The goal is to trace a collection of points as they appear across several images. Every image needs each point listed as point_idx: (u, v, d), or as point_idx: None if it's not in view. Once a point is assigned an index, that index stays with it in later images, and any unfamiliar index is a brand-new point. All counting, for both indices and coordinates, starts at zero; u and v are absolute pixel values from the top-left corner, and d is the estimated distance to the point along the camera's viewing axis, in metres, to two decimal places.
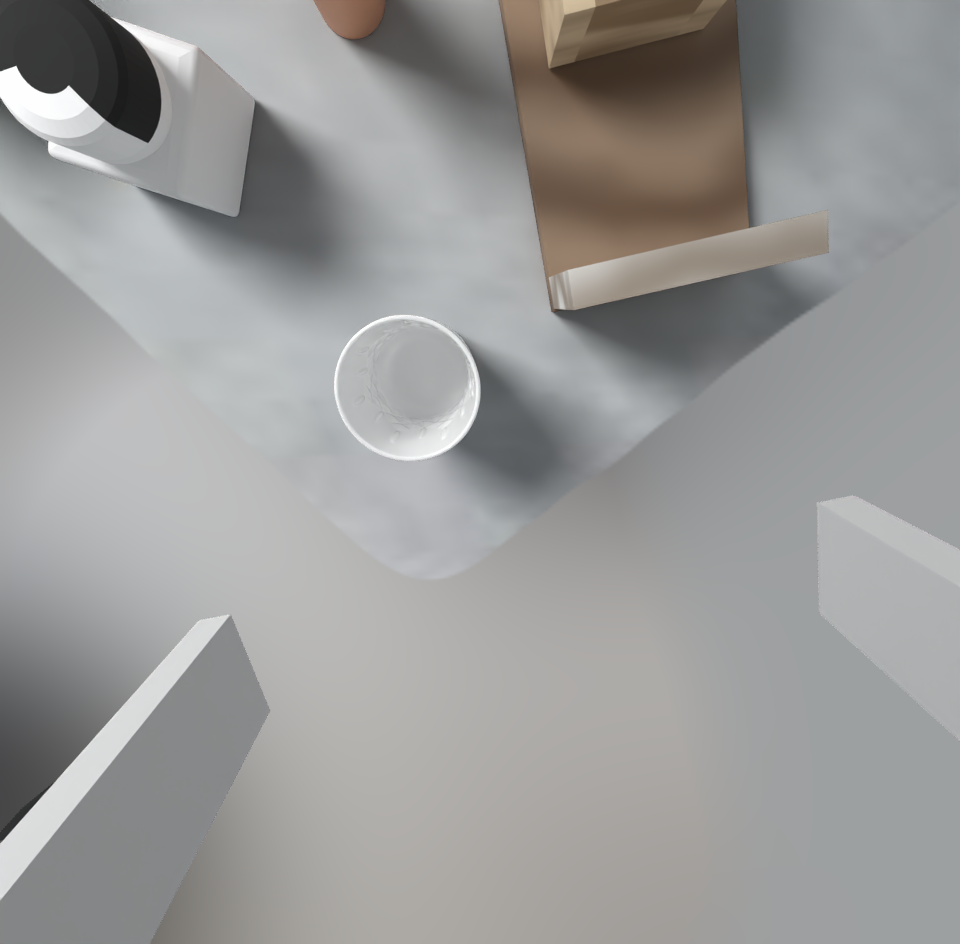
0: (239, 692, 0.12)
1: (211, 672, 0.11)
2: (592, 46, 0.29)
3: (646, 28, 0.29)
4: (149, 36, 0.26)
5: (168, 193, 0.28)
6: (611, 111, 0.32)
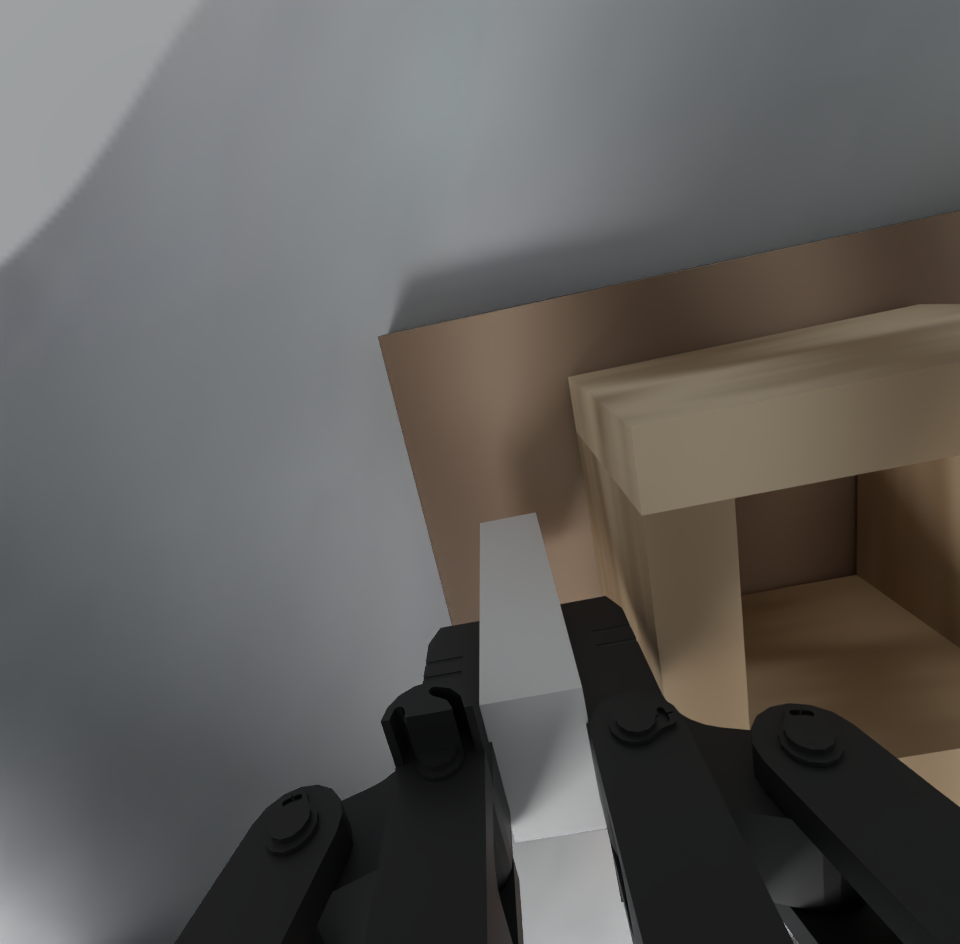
0: None
1: None
2: None
3: None
4: None
5: None
6: None
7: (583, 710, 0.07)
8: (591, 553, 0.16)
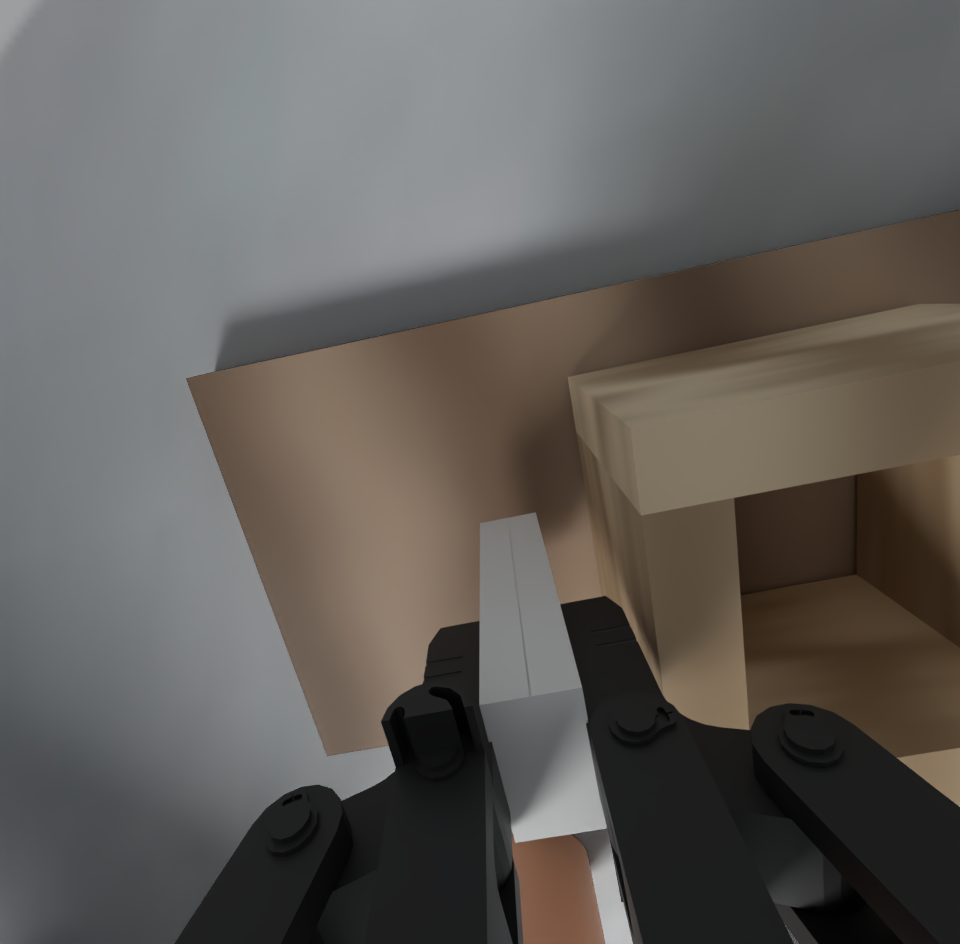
0: None
1: None
2: None
3: None
4: None
5: None
6: (781, 529, 0.15)
7: (583, 710, 0.07)
8: (418, 585, 0.16)
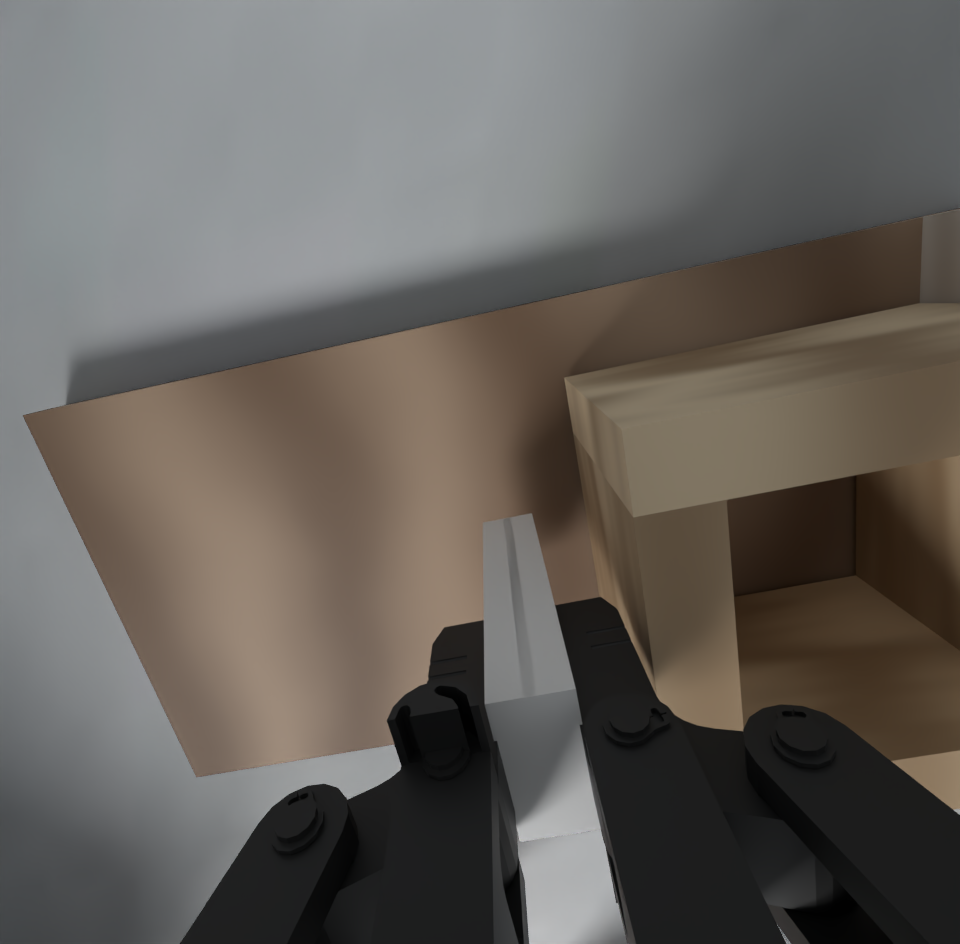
0: None
1: None
2: None
3: None
4: None
5: None
6: None
7: (577, 711, 0.07)
8: (268, 613, 0.16)
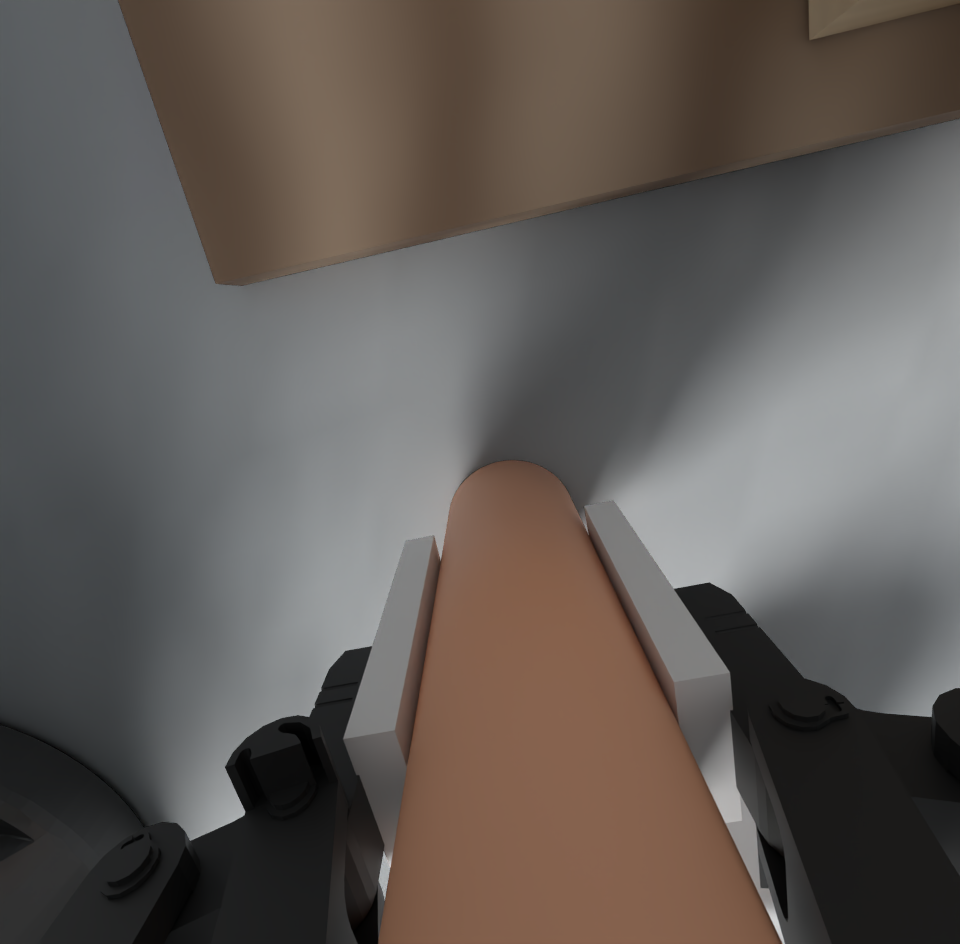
0: None
1: (434, 578, 0.12)
2: None
3: None
4: None
5: None
6: None
7: (728, 696, 0.07)
8: None
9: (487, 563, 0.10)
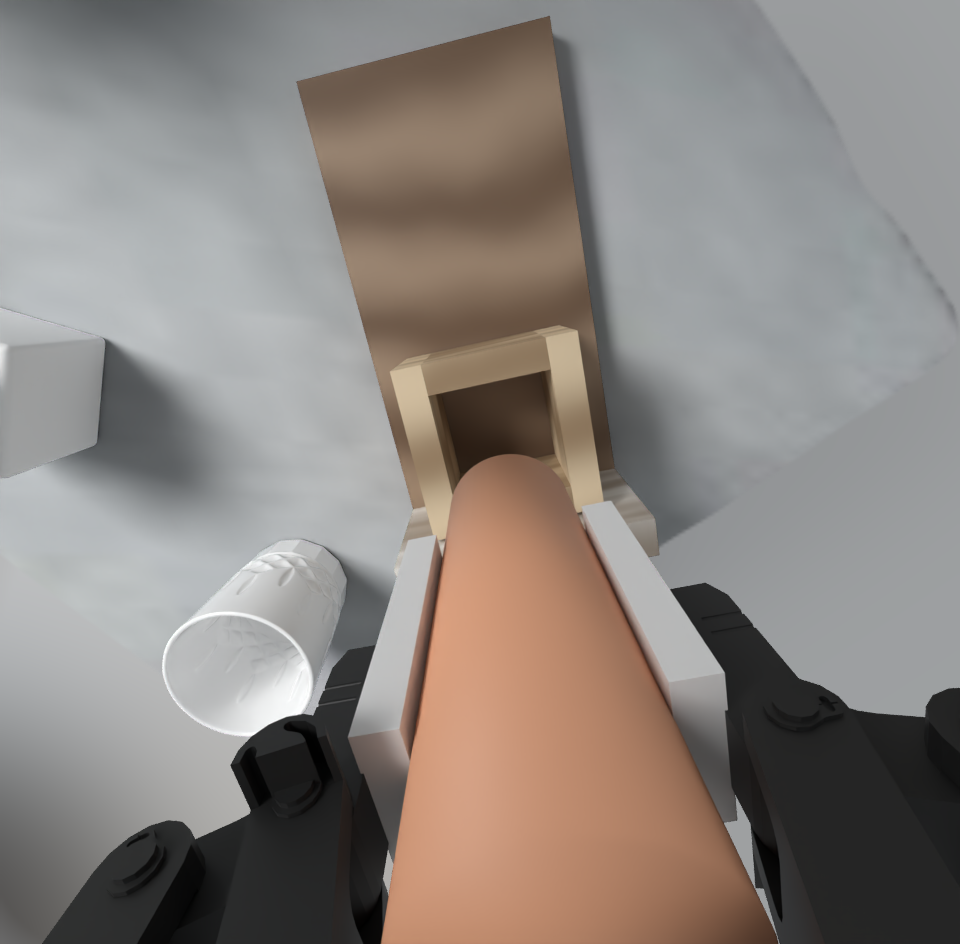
0: None
1: (437, 577, 0.12)
2: None
3: None
4: None
5: None
6: None
7: (723, 696, 0.07)
8: (427, 155, 0.28)
9: (487, 544, 0.11)
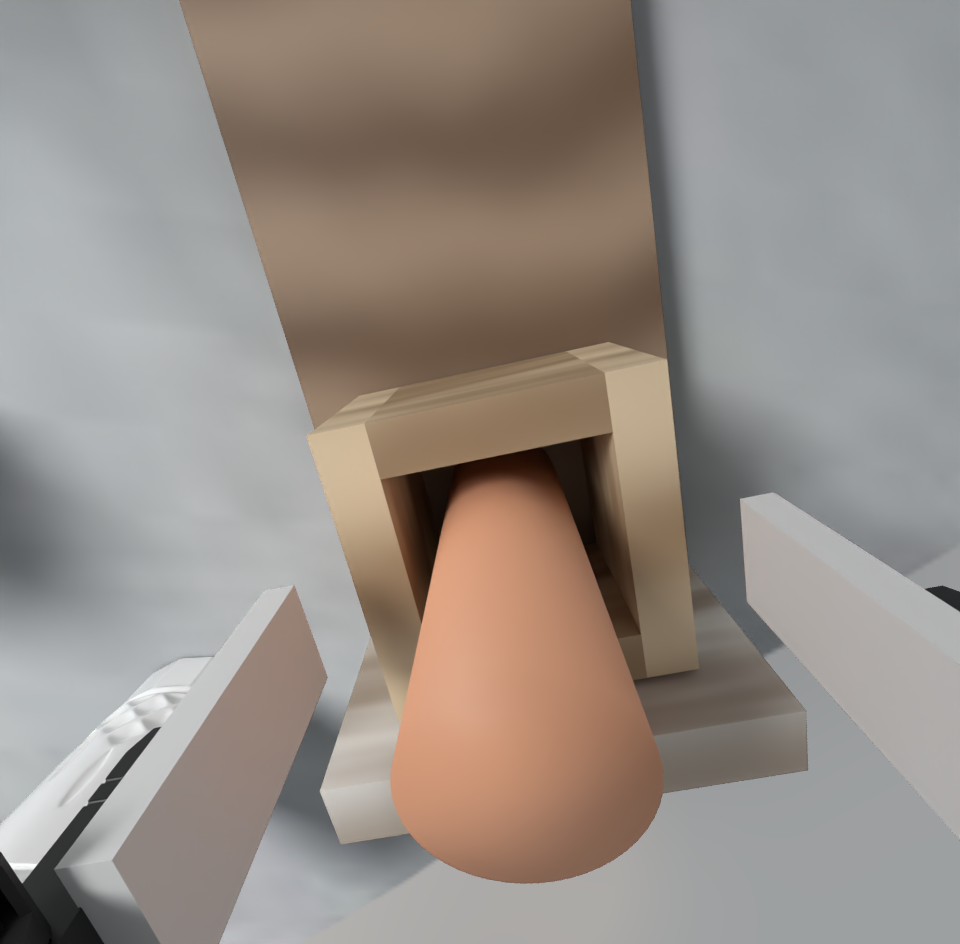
0: (303, 657, 0.12)
1: (282, 636, 0.11)
2: None
3: None
4: None
5: None
6: None
7: None
8: (387, 47, 0.16)
9: (478, 506, 0.13)
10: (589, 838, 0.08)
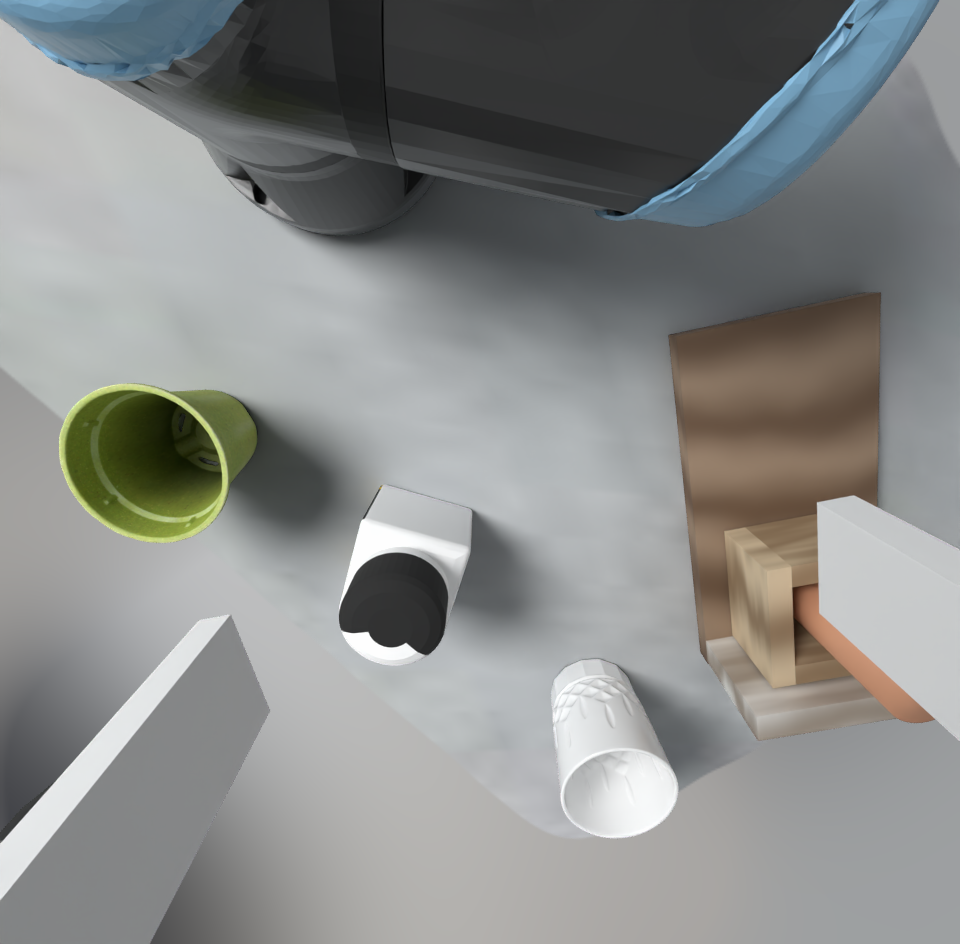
0: (239, 692, 0.12)
1: (211, 672, 0.11)
2: None
3: None
4: (433, 544, 0.33)
5: None
6: None
7: None
8: (767, 386, 0.35)
9: None
10: None
